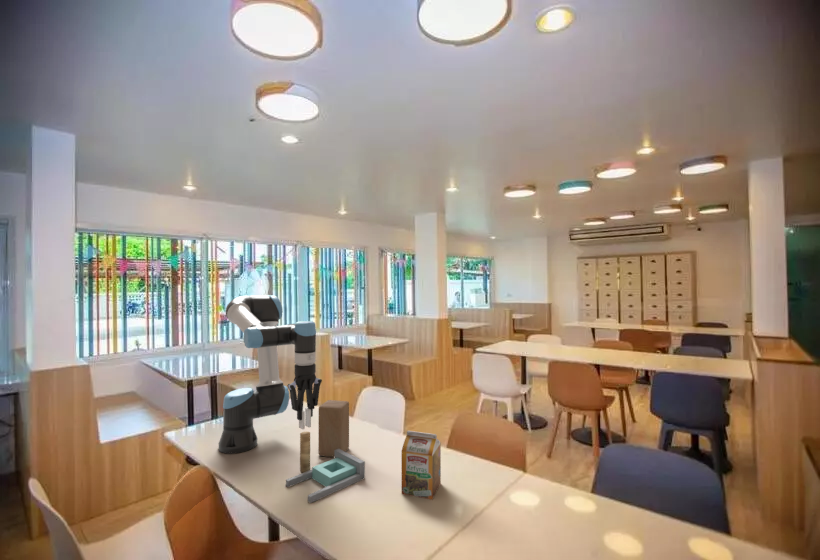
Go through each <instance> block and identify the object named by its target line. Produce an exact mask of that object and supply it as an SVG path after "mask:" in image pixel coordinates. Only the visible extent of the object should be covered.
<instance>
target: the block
mask: <svg viewBox="0 0 820 560" xmlns="http://www.w3.org/2000/svg"><path fill="white" fill-rule="evenodd" d="M349 448H350V402H349V401H347V400H334V399H333V400H332V399H327V400H326V401H325V402H323V403H322V404H321V405H320V406H318V450H317V451H318V455H319V456H321V457H331V458H334V450H336V449H341V450H343V451H345V452H347V451H348V450H349Z"/></svg>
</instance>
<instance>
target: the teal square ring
mask: <svg viewBox="0 0 820 560" xmlns="http://www.w3.org/2000/svg"><path fill="white" fill-rule="evenodd" d="M311 470H312V478H311V479H313V480H314V481H315V482H317V483H319V484H320V485H322V486H324V488H325V487H327V486H329V485H332V484H334V483H336V482H339V481H341V480H343V479H345V478H348V477H350V476H352V475H355V474H356V467H355V466H354V465H352V464H350V463H348V462H346V461H344V460H342V459H340V458H338V457H337V458H335V459H334V458H332V459H330V460H328V461H325V462H321V463H319V464H316V465H315V466H312V468H311Z"/></svg>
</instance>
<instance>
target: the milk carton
mask: <svg viewBox="0 0 820 560" xmlns="http://www.w3.org/2000/svg"><path fill="white" fill-rule="evenodd" d="M437 436H438V435H437V433H429V432H421V431H414V430H407V431H406V436H405V439H404V441H403V445H402V449H401V495H405V496H411V497H416V498H417V497H418V498H422V499H427V500H432V501H433V499H434V498H435V496H436V493H437V491H439V490H438V489H439V488H440V486H441V483H442V482H441V481H442V480H441V479H442V478H441V476H442V475H441V472H442V471H441V461H442V460H441V458H442V457H441V456H442V455H441V451H442V450H441V447H442V446H441V443H442V442H441V441H440V439H438V437H437Z"/></svg>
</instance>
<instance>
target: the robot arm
mask: <svg viewBox="0 0 820 560" xmlns="http://www.w3.org/2000/svg"><path fill="white" fill-rule="evenodd" d="M283 313H284V312H283V306H282V302H281V300H280V298H279V297H278V296H276V295H273V294H272V295H271V294H261V295H240V296H237V297H235V298H234V299H232V300H231V301H229V303H228V304H227V306H226V308H225V316H226V318H227V319H228V321H229V322H230V323H232V324H234V325H236V326H237V327H238V328H239V329H240V331H241V332H242V333H243V343H244V346H245V347H246V348H247V349H257V367H258V368H257V369H258V379H259V380H258V381H259V382H258V383H257V384H256V385H255V390H254V389H253V388H251V387H243V388H237V389H234V390H231V391H229V392H228V393H226V394H225V395H224V397H223V404H222V410H223V411H222V412H223V413H222V416H223V417H222V418H223V422H222V423H223V425H222V426H223V427H222V434H221V436H220V438H219V441H218V451H219V452H220V453H222V454H238V453H243V452H244V453H245V452H247V451H250V450H253V449H254V448H255V447H256V446H257V445H258V436H257V434H256V430H255V428H254V419H260V418H265V417H269V416H276V415H278V414H282V413H284V412H285V411H286V410H287V409H288V405H289V402H290V403H291V404H290V405H291V409H292V410H293V411H295V412H296V419H297V420H298V428H299V429H301V430H305V427H307V428H311V427H312V418H313V416H314V414H313V413H314V412H313V411H314V409H315V407H318V403H319V398H320V397H319V396H320V388H321V384H322V382H323V380H322V379H321V378H320V377H319V378H318V377H317V376H316V372H317V371H316V369H317V365H316V361H317V360H316V358H317V357H316V352H317V351H316V349H317V348H316V346H317V345H316V344H317V341H316V339H317V329H316V328H317V327H316V323H315V322H314V321H310V320H299V321H297V322H295V323H287V324H284V325H278V324H279V320H281V319H282V318H283ZM287 345H294V363H295V364H294V379H293V381H292V382H291V383H288V384H287V386H286V385H284V381H283V380H282V379H281V378H280V370H279V369H280V368H279V358H278V357H279V356H278V355H279V354H278V347H279V346H287ZM296 389H297V390H296ZM305 394H306V395H305ZM305 397H306V408H304V399H305Z"/></svg>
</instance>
